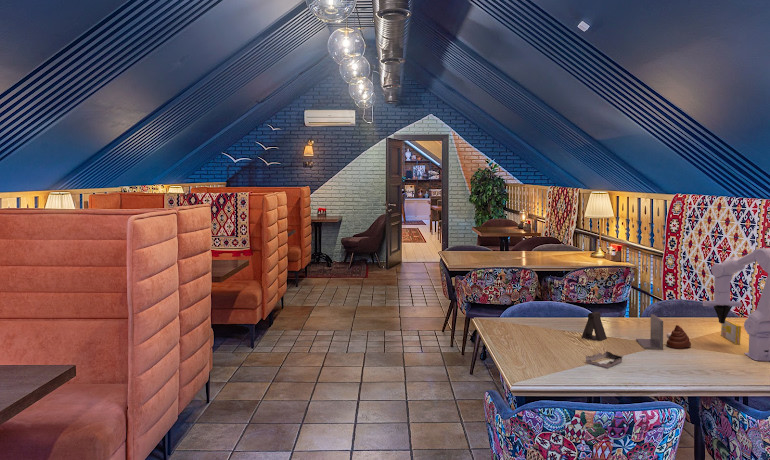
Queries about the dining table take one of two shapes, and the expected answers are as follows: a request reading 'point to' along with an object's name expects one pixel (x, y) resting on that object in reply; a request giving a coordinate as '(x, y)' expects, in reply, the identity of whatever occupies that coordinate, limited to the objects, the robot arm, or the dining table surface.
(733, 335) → the candy box
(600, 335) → the phone stand
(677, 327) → the poop emoji
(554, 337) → the dining table surface
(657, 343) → the bookend
